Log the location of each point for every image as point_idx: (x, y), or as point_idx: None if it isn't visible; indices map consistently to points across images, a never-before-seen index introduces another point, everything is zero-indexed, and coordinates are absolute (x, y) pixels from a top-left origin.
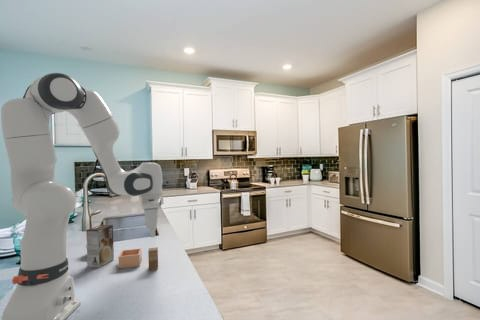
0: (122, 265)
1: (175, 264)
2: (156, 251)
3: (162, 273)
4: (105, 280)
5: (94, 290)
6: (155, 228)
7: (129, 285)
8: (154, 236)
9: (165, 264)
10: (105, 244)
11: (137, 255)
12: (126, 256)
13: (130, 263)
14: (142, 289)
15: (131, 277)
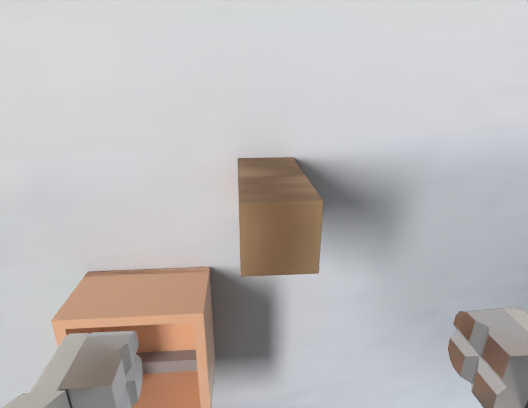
0: (213, 355)
1: (244, 30)
2: (319, 203)
3: (368, 124)
4: (338, 377)
5: (419, 389)
6: (122, 367)
7: (440, 275)
8: (516, 314)
9: (222, 108)
10: None
11: (204, 320)
12: (209, 379)
13: (211, 325)
14: (514, 213)
15: (351, 282)
